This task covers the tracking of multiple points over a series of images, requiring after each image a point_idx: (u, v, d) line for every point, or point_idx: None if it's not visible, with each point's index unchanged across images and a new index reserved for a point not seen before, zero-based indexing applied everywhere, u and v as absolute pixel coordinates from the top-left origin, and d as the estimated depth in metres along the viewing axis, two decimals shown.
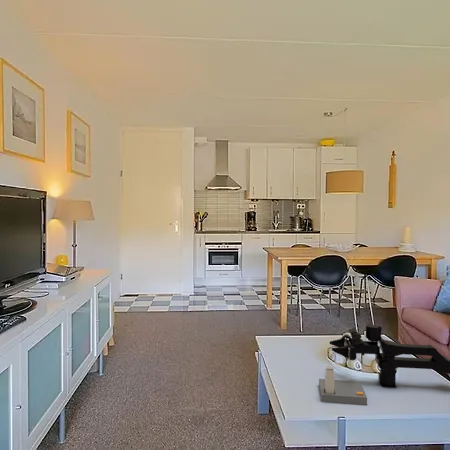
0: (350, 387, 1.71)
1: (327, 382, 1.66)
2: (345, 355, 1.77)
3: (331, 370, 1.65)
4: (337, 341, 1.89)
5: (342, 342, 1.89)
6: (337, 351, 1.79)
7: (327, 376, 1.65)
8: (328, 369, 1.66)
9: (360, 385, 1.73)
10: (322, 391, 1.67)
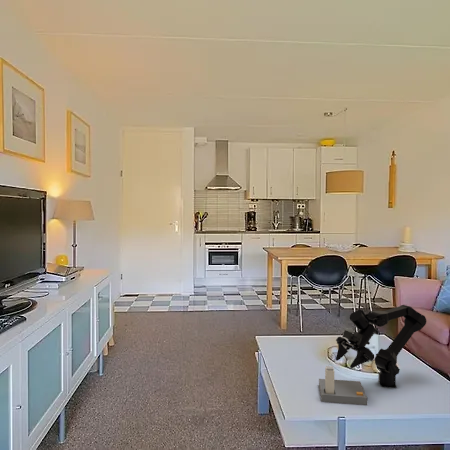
0: (350, 387, 1.71)
1: (327, 382, 1.66)
2: (364, 360, 1.67)
3: (331, 370, 1.65)
4: (340, 352, 1.75)
5: (343, 348, 1.77)
6: (356, 364, 1.66)
7: (327, 376, 1.65)
8: (328, 369, 1.66)
9: (360, 385, 1.73)
10: (322, 391, 1.67)
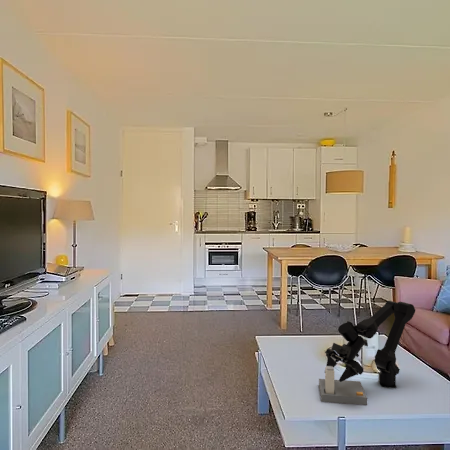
0: (350, 387, 1.71)
1: (327, 382, 1.66)
2: (353, 374, 1.64)
3: (331, 370, 1.65)
4: (329, 365, 1.73)
5: (332, 361, 1.74)
6: (345, 378, 1.63)
7: (327, 376, 1.65)
8: (328, 369, 1.66)
9: (360, 385, 1.73)
10: (322, 391, 1.67)
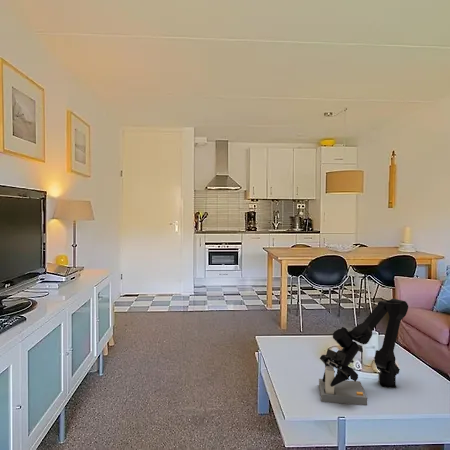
0: (350, 387, 1.71)
1: (327, 382, 1.66)
2: (344, 378, 1.65)
3: (331, 370, 1.65)
4: None
5: None
6: (336, 382, 1.64)
7: (327, 376, 1.65)
8: (328, 369, 1.66)
9: (360, 385, 1.73)
10: (322, 391, 1.67)
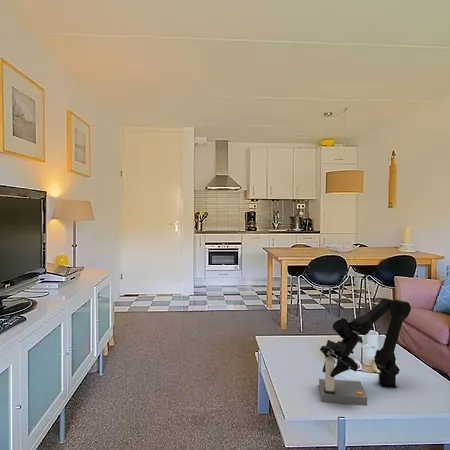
0: (350, 387, 1.71)
1: (327, 373, 1.65)
2: (344, 369, 1.65)
3: (331, 361, 1.65)
4: None
5: None
6: (336, 373, 1.64)
7: (327, 367, 1.65)
8: (328, 360, 1.66)
9: (360, 385, 1.73)
10: (322, 391, 1.67)
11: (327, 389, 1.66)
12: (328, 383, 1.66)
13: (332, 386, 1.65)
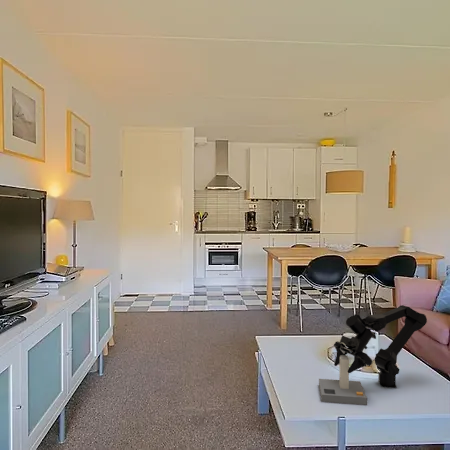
0: (350, 387, 1.71)
1: (342, 371, 1.70)
2: (361, 365, 1.67)
3: (346, 359, 1.70)
4: (338, 357, 1.75)
5: (341, 353, 1.77)
6: (353, 369, 1.67)
7: (342, 365, 1.70)
8: (343, 358, 1.70)
9: (360, 385, 1.73)
10: (322, 391, 1.67)
11: (342, 387, 1.70)
12: (343, 381, 1.70)
13: (346, 384, 1.70)
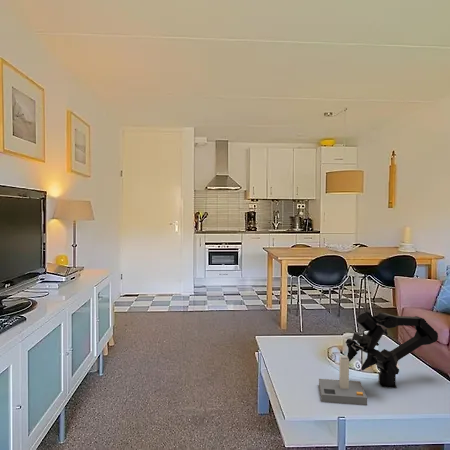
0: (350, 387, 1.71)
1: (342, 371, 1.70)
2: (374, 362, 1.70)
3: (346, 359, 1.70)
4: (350, 354, 1.79)
5: (353, 350, 1.80)
6: (367, 366, 1.70)
7: (342, 365, 1.70)
8: (343, 358, 1.70)
9: (360, 385, 1.73)
10: (322, 391, 1.67)
11: (342, 387, 1.70)
12: (343, 381, 1.70)
13: (346, 384, 1.70)
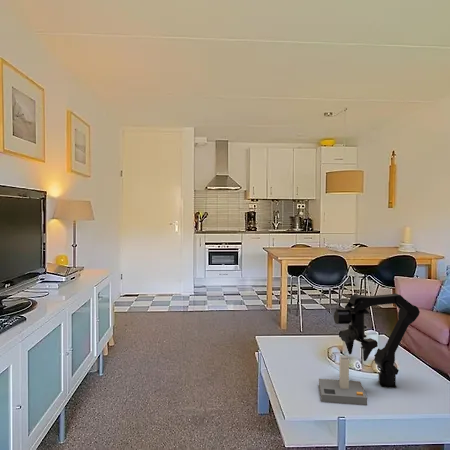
0: (350, 387, 1.71)
1: (342, 371, 1.70)
2: (371, 348, 1.74)
3: (346, 359, 1.70)
4: (348, 346, 1.83)
5: None
6: (367, 355, 1.74)
7: (342, 365, 1.70)
8: (343, 358, 1.70)
9: (360, 385, 1.73)
10: (322, 391, 1.67)
11: (342, 387, 1.70)
12: (343, 381, 1.70)
13: (346, 384, 1.70)
